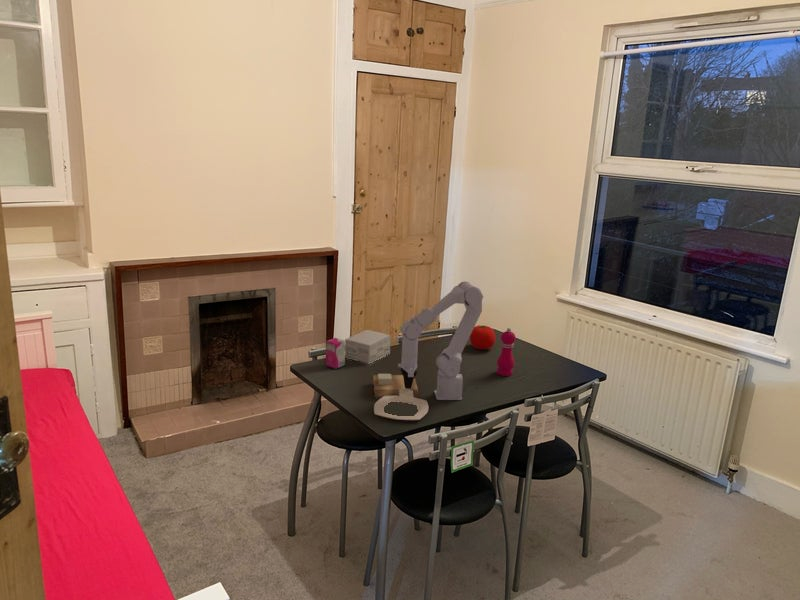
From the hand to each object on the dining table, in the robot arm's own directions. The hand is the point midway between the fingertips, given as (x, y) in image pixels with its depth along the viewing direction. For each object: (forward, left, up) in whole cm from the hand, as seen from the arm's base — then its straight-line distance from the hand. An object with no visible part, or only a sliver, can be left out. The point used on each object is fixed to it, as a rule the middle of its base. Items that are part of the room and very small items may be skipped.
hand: (407, 387), depth 221 cm
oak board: (+4, -8, -5) cm, 10 cm away
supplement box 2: (+13, -45, -5) cm, 47 cm away
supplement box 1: (+27, -33, -5) cm, 43 cm away
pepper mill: (-44, -26, -5) cm, 51 cm away
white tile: (+1, +3, -3) cm, 4 cm away
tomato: (-41, -57, -5) cm, 70 cm away
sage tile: (+8, -8, -1) cm, 11 cm away
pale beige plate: (+3, +9, -5) cm, 11 cm away
